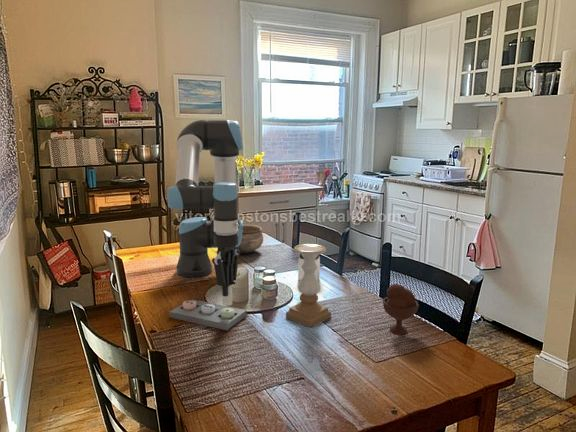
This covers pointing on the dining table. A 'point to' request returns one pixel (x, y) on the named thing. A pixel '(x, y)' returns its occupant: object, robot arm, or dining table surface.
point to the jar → (300, 270)
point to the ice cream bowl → (400, 306)
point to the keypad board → (208, 316)
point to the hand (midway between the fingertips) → (227, 304)
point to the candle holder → (309, 290)
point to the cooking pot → (250, 239)
